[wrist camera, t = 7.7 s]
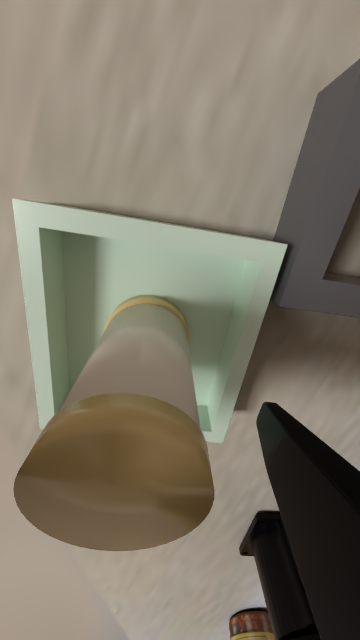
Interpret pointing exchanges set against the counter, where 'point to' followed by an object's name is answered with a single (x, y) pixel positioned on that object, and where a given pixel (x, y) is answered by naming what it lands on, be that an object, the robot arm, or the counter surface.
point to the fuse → (124, 441)
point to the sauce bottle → (251, 626)
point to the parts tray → (140, 279)
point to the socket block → (322, 204)
